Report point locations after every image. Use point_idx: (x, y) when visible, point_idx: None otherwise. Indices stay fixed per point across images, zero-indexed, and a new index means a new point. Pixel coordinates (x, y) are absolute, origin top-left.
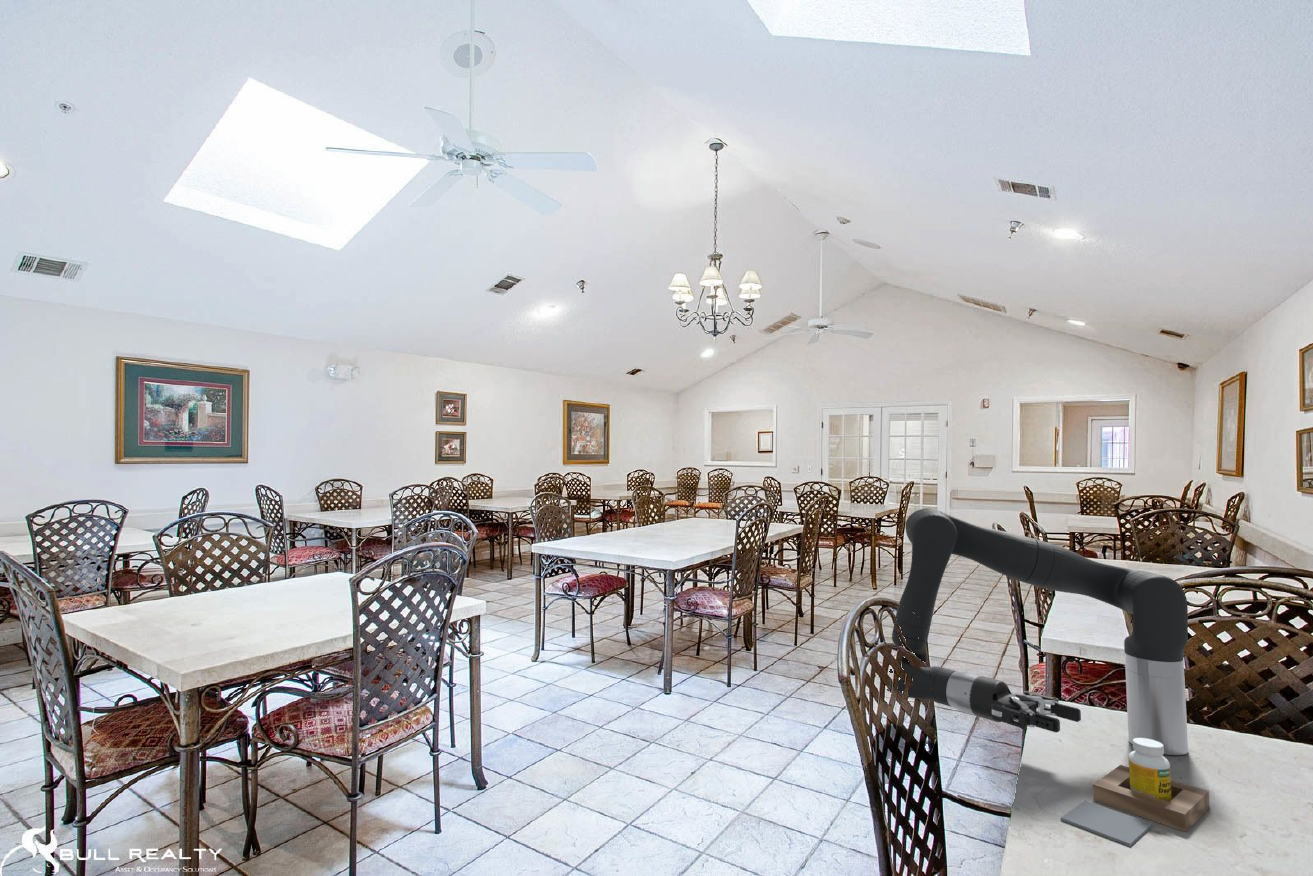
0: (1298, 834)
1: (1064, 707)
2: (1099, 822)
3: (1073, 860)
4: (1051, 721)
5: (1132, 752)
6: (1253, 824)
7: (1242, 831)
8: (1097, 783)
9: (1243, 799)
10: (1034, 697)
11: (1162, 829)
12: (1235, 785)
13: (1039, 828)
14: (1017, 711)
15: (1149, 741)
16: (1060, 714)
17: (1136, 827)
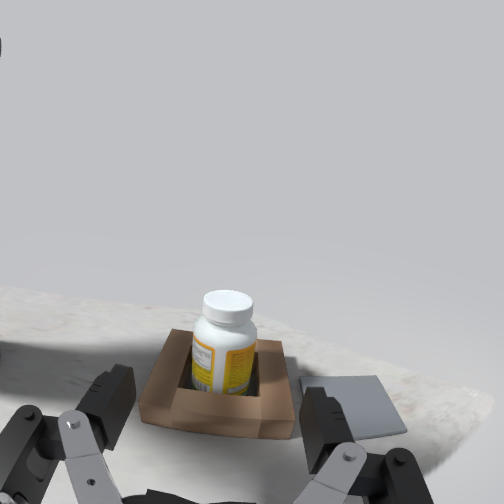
0: (186, 309)
1: (113, 399)
2: (365, 405)
3: (451, 387)
4: (334, 400)
5: (232, 335)
6: (190, 326)
7: None
8: (283, 416)
9: (119, 326)
10: (107, 487)
11: (295, 372)
12: (77, 325)
13: (446, 430)
14: (403, 477)
15: (219, 298)
16: (116, 432)
17: (331, 382)
